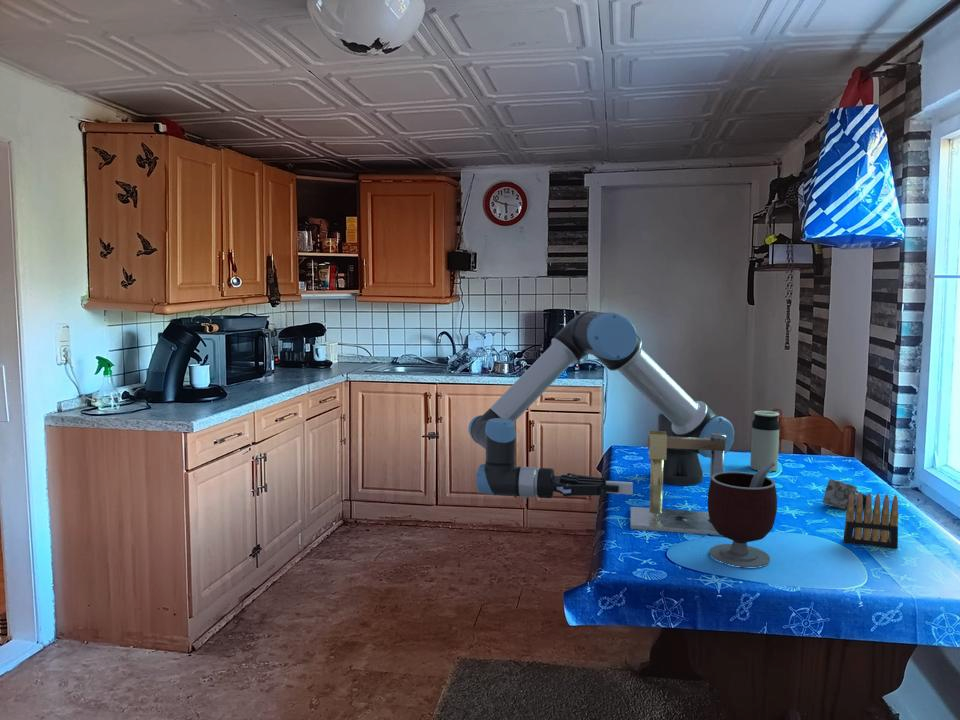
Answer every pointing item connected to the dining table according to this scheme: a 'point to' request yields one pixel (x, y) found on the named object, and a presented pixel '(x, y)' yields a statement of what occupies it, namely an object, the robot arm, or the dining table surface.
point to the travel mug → (764, 440)
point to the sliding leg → (657, 469)
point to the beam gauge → (682, 518)
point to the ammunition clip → (871, 522)
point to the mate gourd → (742, 514)
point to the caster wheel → (840, 494)
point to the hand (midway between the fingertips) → (632, 488)
